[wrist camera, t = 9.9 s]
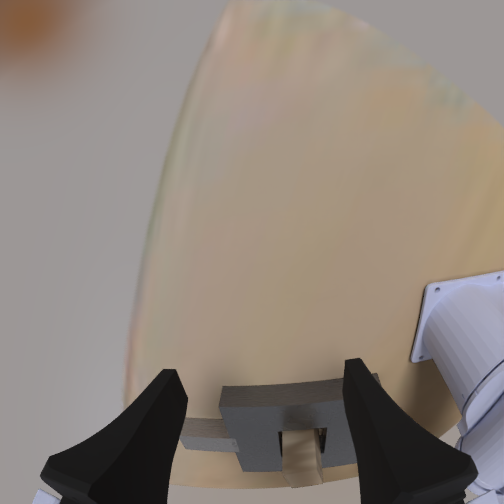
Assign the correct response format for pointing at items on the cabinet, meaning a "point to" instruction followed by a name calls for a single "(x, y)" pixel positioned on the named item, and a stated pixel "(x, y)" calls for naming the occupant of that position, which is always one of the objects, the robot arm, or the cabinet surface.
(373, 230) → the cabinet surface
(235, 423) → the steel bracket head
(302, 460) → the oak wedge
